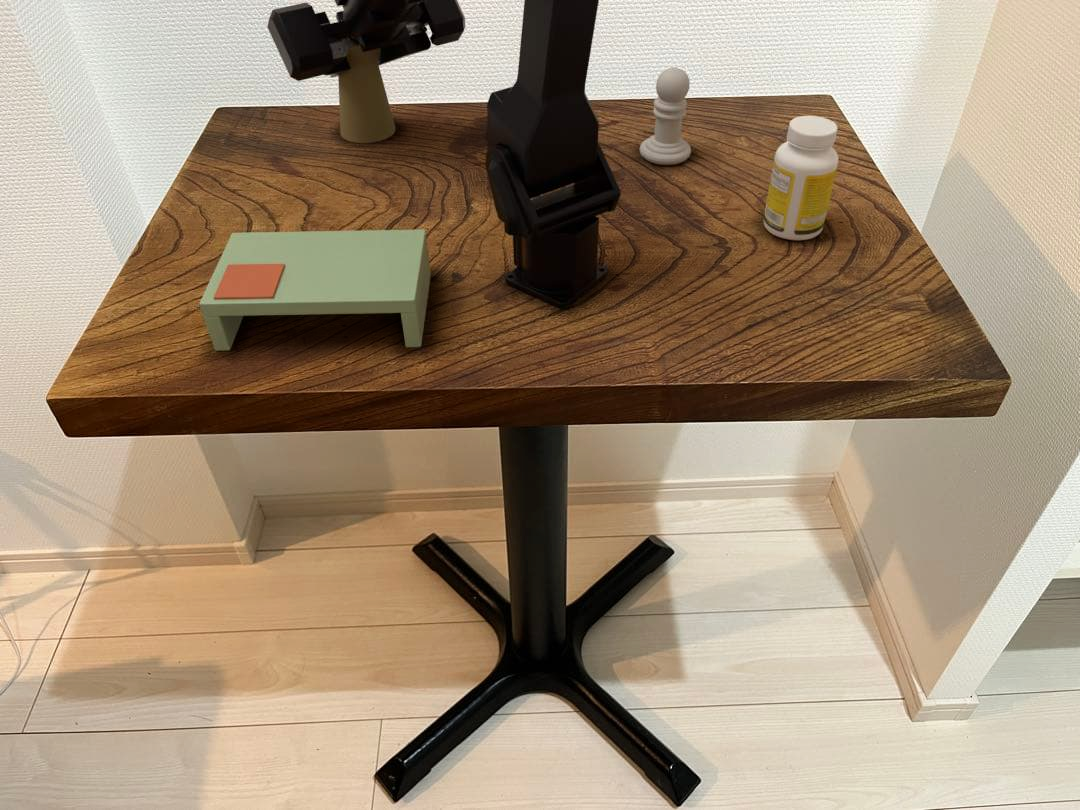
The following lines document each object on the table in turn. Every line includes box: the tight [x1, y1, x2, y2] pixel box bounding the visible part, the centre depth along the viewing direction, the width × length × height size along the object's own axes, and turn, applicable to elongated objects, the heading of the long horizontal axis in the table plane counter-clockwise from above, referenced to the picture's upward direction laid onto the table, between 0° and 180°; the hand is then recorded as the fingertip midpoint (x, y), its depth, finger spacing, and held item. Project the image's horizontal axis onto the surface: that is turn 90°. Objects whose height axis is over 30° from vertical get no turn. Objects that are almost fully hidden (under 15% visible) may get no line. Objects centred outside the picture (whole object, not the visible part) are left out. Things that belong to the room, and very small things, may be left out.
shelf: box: [199, 228, 432, 352], centre depth 69 cm, size 10×16×5 cm, turn 91°
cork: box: [337, 37, 396, 144], centre depth 91 cm, size 6×6×11 cm
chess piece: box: [639, 67, 692, 166], centre depth 87 cm, size 5×5×9 cm
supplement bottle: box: [763, 115, 839, 241], centre depth 76 cm, size 5×5×10 cm
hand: (353, 67), depth 91 cm, fingers closed on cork, 5 cm apart
